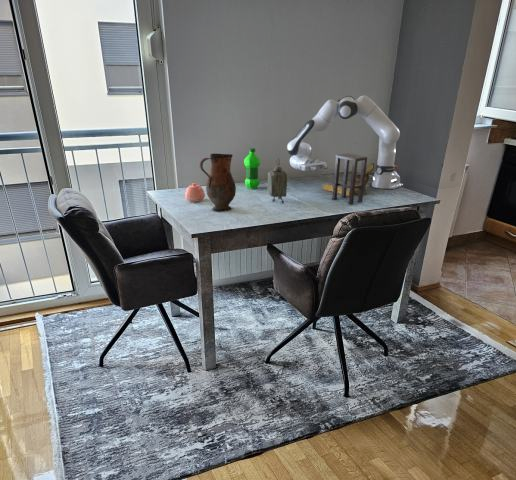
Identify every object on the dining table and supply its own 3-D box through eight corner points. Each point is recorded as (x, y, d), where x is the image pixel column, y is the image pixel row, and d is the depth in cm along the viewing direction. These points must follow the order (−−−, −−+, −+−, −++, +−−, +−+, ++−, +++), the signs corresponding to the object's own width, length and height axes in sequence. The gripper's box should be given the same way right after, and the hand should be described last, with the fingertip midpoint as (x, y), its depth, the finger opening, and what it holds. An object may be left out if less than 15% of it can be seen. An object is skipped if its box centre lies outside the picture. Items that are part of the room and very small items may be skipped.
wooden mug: (374, 193, 307) (378, 164, 297) (357, 195, 302) (360, 166, 292) (366, 190, 314) (369, 162, 304) (349, 192, 309) (352, 163, 299)
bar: (326, 188, 318) (326, 184, 316) (352, 195, 301) (352, 190, 300) (323, 189, 316) (323, 184, 315) (348, 196, 300) (349, 191, 298)
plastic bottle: (259, 189, 315) (259, 149, 302) (244, 189, 315) (243, 149, 302) (260, 186, 323) (260, 147, 310) (244, 186, 323) (244, 147, 311)
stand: (343, 196, 299) (347, 153, 285) (362, 201, 288) (367, 157, 274) (332, 199, 294) (335, 154, 280) (350, 204, 283) (355, 158, 269)
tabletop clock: (286, 204, 283) (287, 160, 270) (271, 204, 282) (272, 160, 269) (281, 198, 295) (282, 156, 282) (267, 198, 294) (267, 156, 281)
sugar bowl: (197, 196, 298) (196, 180, 292) (211, 200, 289) (210, 183, 284) (181, 200, 290) (180, 183, 285) (195, 204, 282) (194, 187, 277)
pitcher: (242, 209, 272) (241, 154, 256) (211, 216, 261) (208, 159, 245) (226, 203, 283) (224, 150, 268) (195, 209, 272) (191, 154, 256)
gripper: (296, 161, 316) (310, 164, 306) (318, 158, 326) (332, 161, 317) (295, 171, 319) (309, 175, 310) (318, 168, 330) (331, 171, 320)
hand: (321, 168), depth 313 cm, fingers open, 8 cm apart
